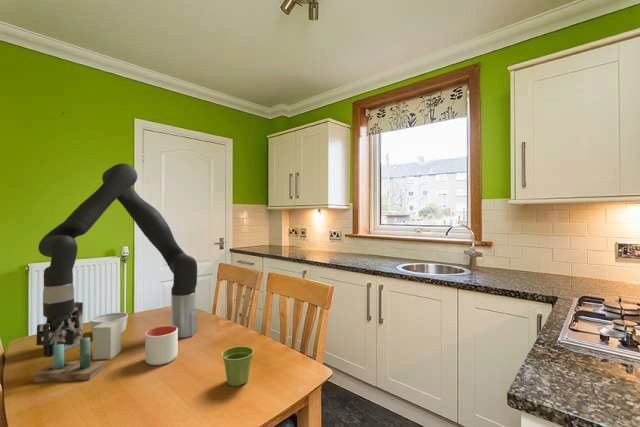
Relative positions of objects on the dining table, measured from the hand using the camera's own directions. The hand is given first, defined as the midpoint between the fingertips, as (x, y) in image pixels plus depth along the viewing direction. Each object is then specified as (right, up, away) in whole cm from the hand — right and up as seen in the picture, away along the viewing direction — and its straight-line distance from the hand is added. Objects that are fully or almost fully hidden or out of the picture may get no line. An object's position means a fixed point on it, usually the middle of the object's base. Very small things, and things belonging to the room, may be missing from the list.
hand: (59, 350), depth 97 cm
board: (+7, -8, 0) cm, 11 cm away
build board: (0, -8, 0) cm, 8 cm away
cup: (+27, -8, +10) cm, 30 cm away
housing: (+6, -8, +13) cm, 16 cm away
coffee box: (-15, -8, +20) cm, 26 cm away
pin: (0, -8, 0) cm, 8 cm away
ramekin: (-8, -8, +34) cm, 36 cm away
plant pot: (+57, -8, -4) cm, 58 cm away
